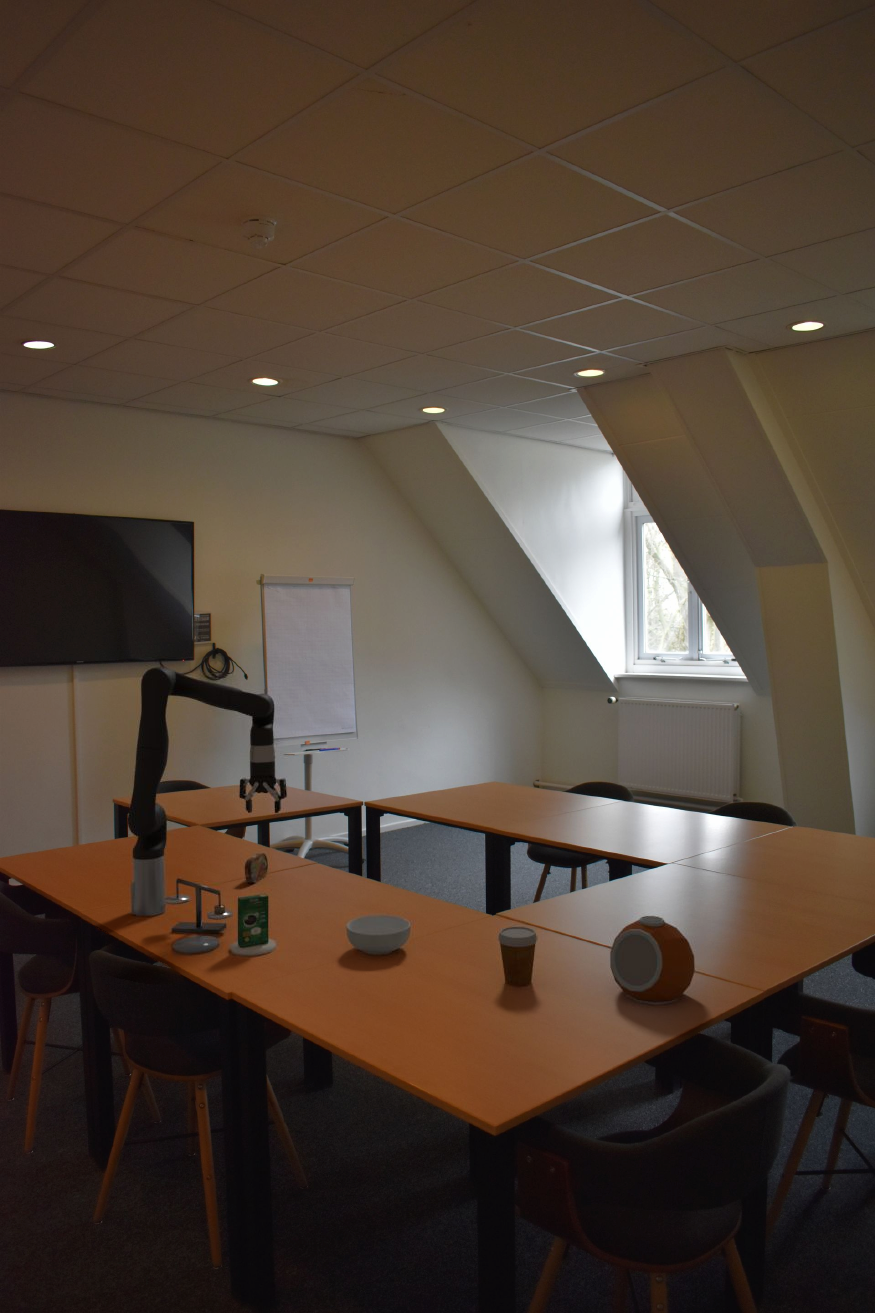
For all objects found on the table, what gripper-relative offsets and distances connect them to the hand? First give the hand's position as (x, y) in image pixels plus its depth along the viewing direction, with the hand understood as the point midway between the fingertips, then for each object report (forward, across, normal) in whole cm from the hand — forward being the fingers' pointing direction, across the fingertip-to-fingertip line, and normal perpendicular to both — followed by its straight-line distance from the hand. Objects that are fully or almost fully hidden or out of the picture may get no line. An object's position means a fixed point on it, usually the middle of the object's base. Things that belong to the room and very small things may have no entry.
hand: (263, 812), depth 286 cm
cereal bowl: (+30, +42, -32) cm, 61 cm away
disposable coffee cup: (+30, +80, -51) cm, 100 cm away
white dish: (+30, +8, -34) cm, 46 cm away
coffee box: (+29, +8, -34) cm, 45 cm away
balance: (+30, -13, -20) cm, 38 cm away
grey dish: (+30, -8, -34) cm, 46 cm away
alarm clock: (+30, +111, -55) cm, 128 cm away
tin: (+30, -15, +35) cm, 49 cm away
